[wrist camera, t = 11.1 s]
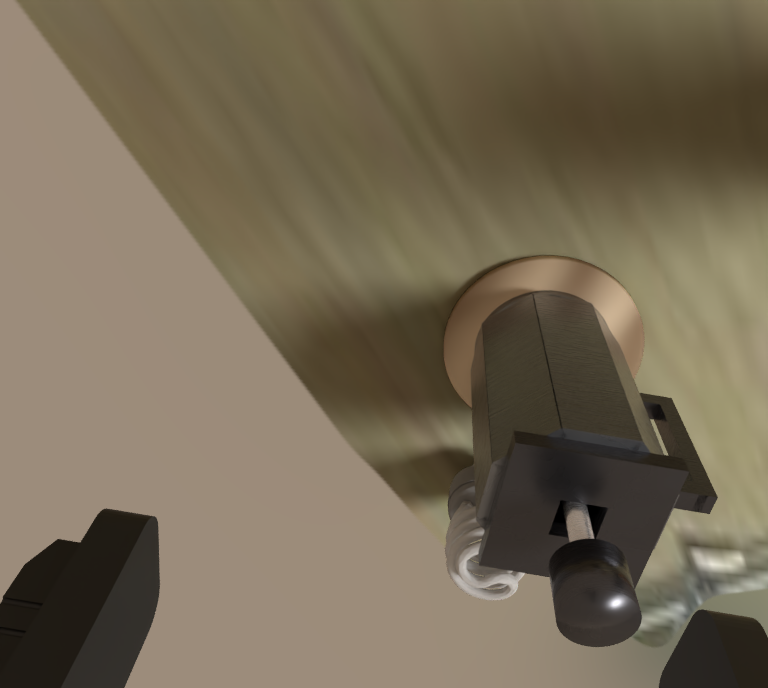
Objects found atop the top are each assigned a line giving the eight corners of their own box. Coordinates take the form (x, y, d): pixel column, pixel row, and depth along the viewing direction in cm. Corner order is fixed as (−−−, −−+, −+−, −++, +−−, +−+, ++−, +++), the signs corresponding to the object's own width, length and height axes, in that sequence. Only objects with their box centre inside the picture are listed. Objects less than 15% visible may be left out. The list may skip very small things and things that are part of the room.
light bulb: (434, 478, 59) (430, 595, 48) (466, 429, 56) (469, 542, 46) (495, 503, 59) (504, 624, 49) (530, 456, 57) (547, 574, 46)
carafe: (675, 310, 49) (771, 474, 34) (630, 423, 53) (697, 610, 39) (490, 279, 49) (505, 430, 34) (462, 395, 53) (465, 571, 39)
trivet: (670, 273, 48) (673, 278, 47) (608, 437, 55) (610, 444, 54) (464, 240, 48) (464, 244, 47) (428, 408, 55) (428, 414, 55)
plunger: (611, 338, 47) (704, 578, 29) (582, 422, 50) (650, 680, 33) (508, 321, 47) (540, 551, 29) (486, 406, 50) (503, 656, 33)
